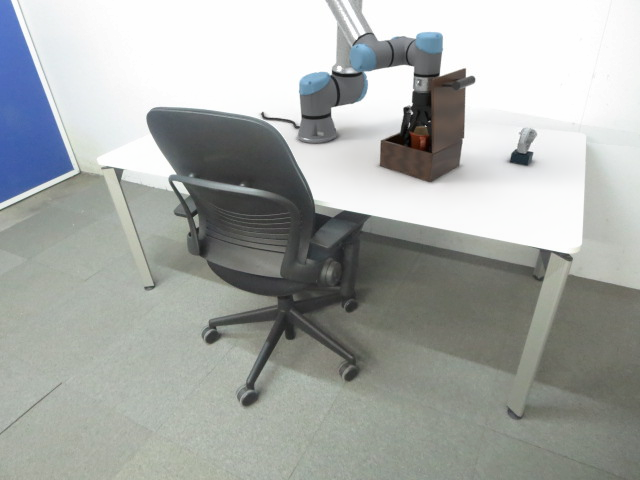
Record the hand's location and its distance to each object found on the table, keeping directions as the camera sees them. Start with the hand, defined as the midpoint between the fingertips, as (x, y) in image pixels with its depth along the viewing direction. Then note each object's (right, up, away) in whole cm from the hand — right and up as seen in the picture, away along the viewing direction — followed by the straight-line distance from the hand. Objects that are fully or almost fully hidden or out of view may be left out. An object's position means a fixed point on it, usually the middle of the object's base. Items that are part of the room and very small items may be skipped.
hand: (419, 161), depth 139 cm
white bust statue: (+33, 0, 0) cm, 33 cm away
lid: (+5, +12, -15) cm, 20 cm away
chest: (0, -1, +1) cm, 1 cm away
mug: (0, -1, 0) cm, 1 cm away
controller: (+6, +16, +28) cm, 33 cm away
